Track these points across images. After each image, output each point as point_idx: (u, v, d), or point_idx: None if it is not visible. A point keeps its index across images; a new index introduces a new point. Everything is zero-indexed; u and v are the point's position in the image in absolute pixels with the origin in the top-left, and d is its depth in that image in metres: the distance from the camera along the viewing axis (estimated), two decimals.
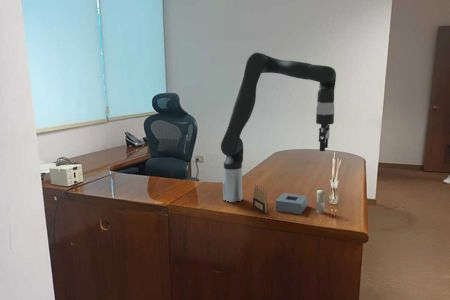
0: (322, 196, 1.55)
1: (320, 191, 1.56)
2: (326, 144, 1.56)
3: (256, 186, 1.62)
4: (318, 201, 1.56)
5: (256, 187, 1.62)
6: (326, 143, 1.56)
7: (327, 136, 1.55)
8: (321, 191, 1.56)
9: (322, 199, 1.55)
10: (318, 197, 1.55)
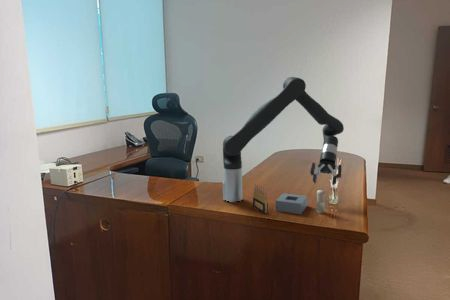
0: (322, 196, 1.55)
1: (320, 191, 1.56)
2: None
3: (256, 186, 1.62)
4: (318, 201, 1.56)
5: (256, 187, 1.62)
6: (316, 179, 1.65)
7: (319, 174, 1.67)
8: (321, 191, 1.56)
9: (322, 199, 1.55)
10: (318, 197, 1.55)
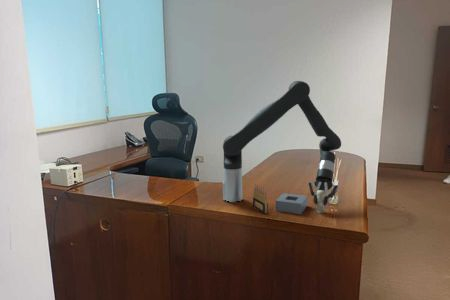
0: (322, 196, 1.55)
1: (320, 191, 1.56)
2: (316, 201, 1.57)
3: (256, 186, 1.62)
4: (318, 201, 1.56)
5: (256, 187, 1.62)
6: None
7: None
8: (321, 191, 1.56)
9: (322, 199, 1.55)
10: (318, 197, 1.55)
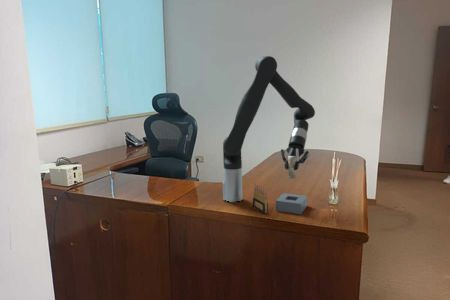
0: (293, 161, 1.58)
1: (291, 156, 1.59)
2: None
3: (256, 186, 1.62)
4: (289, 166, 1.59)
5: (256, 187, 1.62)
6: None
7: None
8: (292, 156, 1.59)
9: (293, 164, 1.58)
10: (289, 162, 1.58)
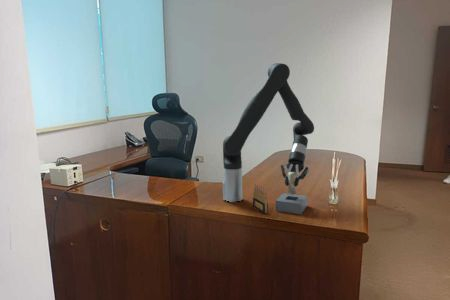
0: (293, 177, 1.59)
1: (291, 173, 1.60)
2: None
3: (256, 186, 1.62)
4: (289, 182, 1.60)
5: (256, 187, 1.62)
6: None
7: None
8: (292, 173, 1.60)
9: (293, 180, 1.59)
10: (289, 178, 1.60)
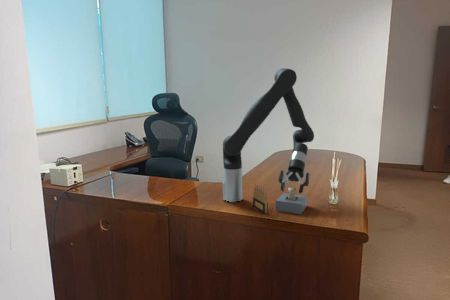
0: (293, 193, 1.61)
1: (291, 188, 1.62)
2: None
3: (256, 186, 1.62)
4: (289, 197, 1.62)
5: (256, 187, 1.62)
6: (284, 187, 1.64)
7: None
8: (292, 188, 1.62)
9: (293, 195, 1.61)
10: (289, 194, 1.61)
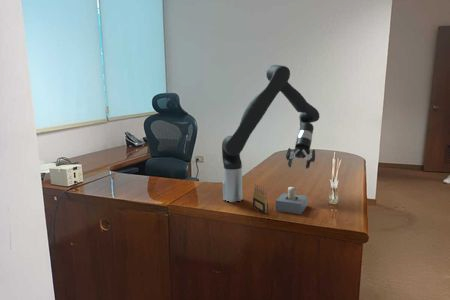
0: (293, 193, 1.61)
1: (291, 188, 1.62)
2: (291, 164, 1.73)
3: (256, 186, 1.62)
4: (289, 197, 1.62)
5: (256, 187, 1.62)
6: (291, 163, 1.74)
7: (294, 158, 1.75)
8: (292, 188, 1.62)
9: (293, 195, 1.61)
10: (289, 194, 1.61)
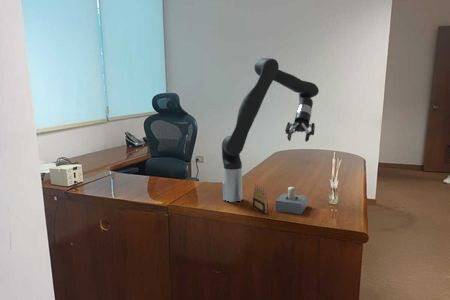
0: (293, 193, 1.61)
1: (291, 188, 1.62)
2: (290, 138, 1.73)
3: (256, 186, 1.62)
4: (289, 197, 1.62)
5: (256, 187, 1.62)
6: (290, 137, 1.74)
7: (293, 132, 1.75)
8: (292, 188, 1.62)
9: (293, 195, 1.61)
10: (289, 194, 1.61)
